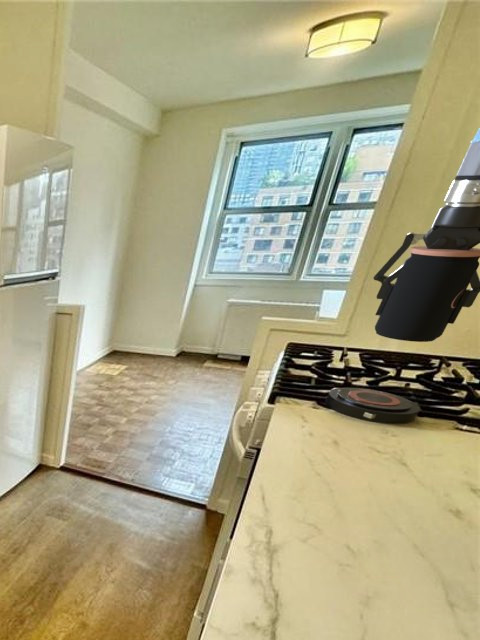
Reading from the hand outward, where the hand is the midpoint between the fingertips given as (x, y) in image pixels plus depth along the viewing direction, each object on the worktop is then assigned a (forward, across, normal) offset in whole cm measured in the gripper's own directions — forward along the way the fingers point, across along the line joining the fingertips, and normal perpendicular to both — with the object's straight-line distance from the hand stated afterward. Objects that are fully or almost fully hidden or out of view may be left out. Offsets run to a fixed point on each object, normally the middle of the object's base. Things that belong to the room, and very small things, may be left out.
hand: (413, 318), depth 105 cm
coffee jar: (+4, 0, 0) cm, 4 cm away
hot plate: (+22, 0, 0) cm, 22 cm away
